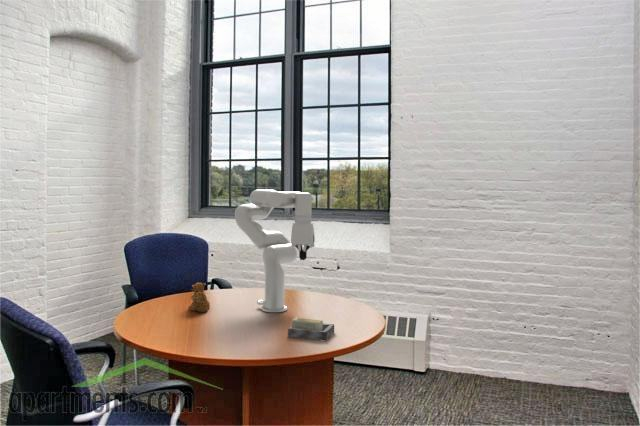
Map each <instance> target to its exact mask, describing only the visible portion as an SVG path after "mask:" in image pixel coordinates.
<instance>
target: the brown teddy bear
mask: <svg viewBox="0 0 640 426" xmlns="http://www.w3.org/2000/svg"><path fill="white" fill-rule="evenodd" d="M206 285H207V284H206V283H205V282H203V283H202V282H196V283H194V284H192V285H191V287H192V288H191V289H190V291H193V294H192V295H191V296H190V299H191V300H192V303H191V304H190V305H189V306H188V310H189V311H193V312H198V313H207V312H208V310H209V309H210V308H211V307H210V306H211V305H210V304H211V303H210V302H209V300H208V298H207V295H206V294H205V286H206Z"/></svg>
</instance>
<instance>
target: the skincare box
mask: <svg viewBox="0 0 640 426" xmlns="http://www.w3.org/2000/svg"><path fill="white" fill-rule="evenodd" d="M323 323H324V320H323V319H322V320H321V319H314V318H313V319H311V318H306V317H305V318H304V317H293V318H292V320H291V328H299V329H309V330H319V331H323Z"/></svg>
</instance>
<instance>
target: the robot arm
mask: <svg viewBox="0 0 640 426" xmlns="http://www.w3.org/2000/svg"><path fill="white" fill-rule="evenodd" d="M312 196H313V195H312V193H310V192H305V191H304V192H303V191H302V192H301V191H277V189H272V188H270V189H268V188H265V189H264V188H259V189H255V190H253V191H251V193H250V194H249V200H250V203H245V204H241V205H239V206H237V207H236V208H235V210H234V219H235V222H236V224H237V226H238V227H239V229H240V230H241V231H242V232H243V233H244V234H245V235H246V236H247V237H248V238H249V240H251V242H252V243H253V245H254V246H255V247H256V248H257V249H258V250H260V251H262V260H263V266H264V299H263V300H262V299H258V300H257V305H260V306H261V305H262V306H261V310H262V311H263V312H265V313H283V312H286V311H288V306H287V305H285V271H284V269H283V267H282V265H284V264H285V265H286V264H290V263H294V262H295V261H296V260H297V257H298V253H299V257H298V258H299V260H300V261H305V260H306V259H307V255H308V254H307V253H308V252H307V251H308V250H309V249H310V248H315V246H316V245H315V227H314V223H313V222H312V211H313V210H312V206H313V205H312V202H313V201H312V200H313V199H312V198H313V197H312ZM275 208H276V209H293V208H294V216H292V217H291V220H293V221H294V222H293V223H292V227H291V235H290V239H288V238H287V236H286V235H285V234H284V233H283V232H281V231H279V230H266V229H264V227H263V226H262V225H261V224H260V223H259V222H256V221H263V220H265V219H267V218H268V217H269V216H270V214H271V212H272V211H273V209H275ZM297 250H298V251H297Z"/></svg>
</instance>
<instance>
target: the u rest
mask: <svg viewBox="0 0 640 426" xmlns="http://www.w3.org/2000/svg"><path fill="white" fill-rule="evenodd" d="M334 334H335V324H332V323H326V322H323V331H319V330H309V329H299V328H292V327H291V326H290V327H288V328H287V337H288V338H293V337H295V338H294V339H302V338H305V339H304V340H311V339H315V340H314V341H321V340H323V341H322V342H327V341H328V340H329V338H331V336H332V335H334Z"/></svg>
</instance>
